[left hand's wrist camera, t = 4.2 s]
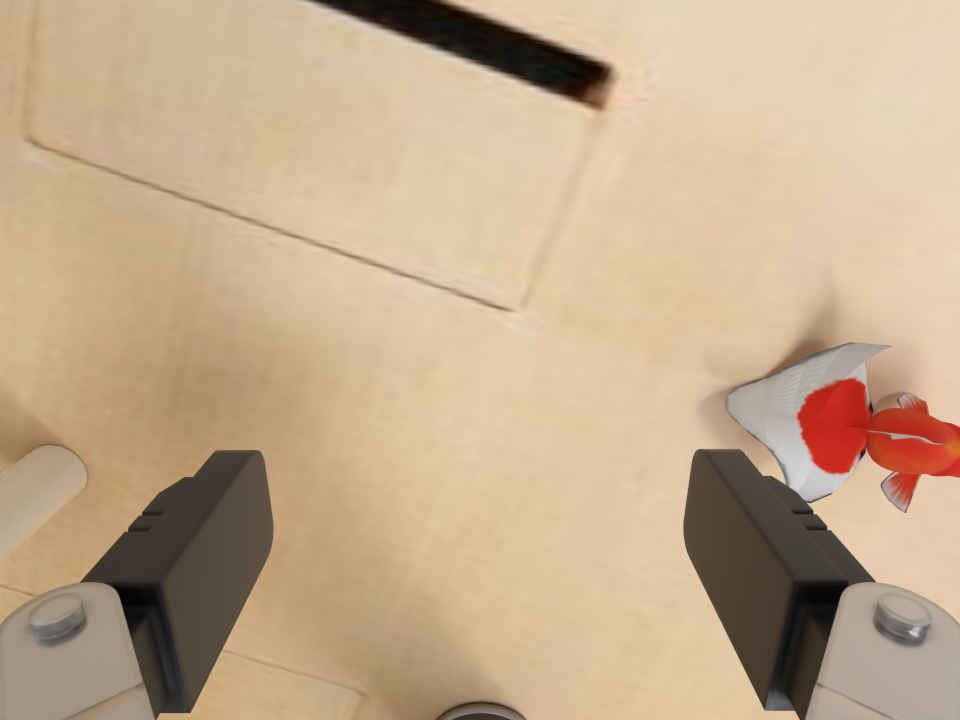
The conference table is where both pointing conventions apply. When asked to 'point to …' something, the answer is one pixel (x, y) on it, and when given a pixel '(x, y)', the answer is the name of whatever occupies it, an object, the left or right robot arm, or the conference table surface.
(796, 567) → the left robot arm
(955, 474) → the fish
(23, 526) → the jar
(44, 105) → the conference table surface
